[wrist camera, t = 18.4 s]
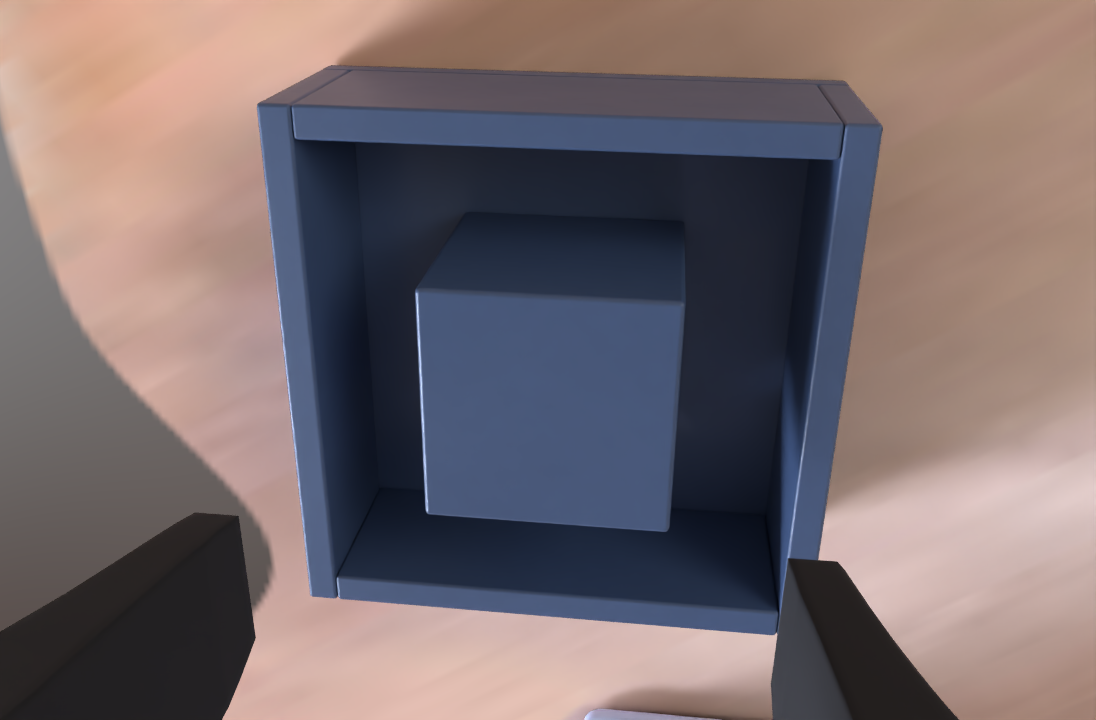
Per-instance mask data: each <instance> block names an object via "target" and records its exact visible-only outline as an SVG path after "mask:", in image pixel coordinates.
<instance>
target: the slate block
mask: <svg viewBox="0 0 1096 720" xmlns="http://www.w3.org/2000/svg"><path fill="white" fill-rule="evenodd" d="M415 302H416V323H417V344H418V365H419V385H420V406H421V427H422V448H423V469H424V489H425V509H426V512H427V513H428V514H432V515H445V516H458V517H472V518H485V519H499V520H512V521H525V522H539V523H552V524H565V525H579V526H592V527H605V528H619V529H632V530H646V531H659V532H666V531H668V529H669V527H670V513H671V500H672V486H673V472H674V459H675V445H676V431H677V418H678V404H679V390H680V377H681V363H682V349H683V336H684V322H685V309H686V295H685V239H684V224H683V222H680V221H662V220H640V219H618V218H595V217H573V216H550V215H528V214H505V213H483V212H466V213H465V214H464V215H463V217H462V218H461V220H460V222H459V223H458V225H457V226H456V228H455V229H454V231H453V232H452V234H451V235H450V237H449V239H448V240H447V242H446V243H445V245H444V246H443V248H442V249H441V251H440V252H439V254H438V256H437V257H436V259H435V260H434V262H433V263H432V265H431V266H430V268H429V269H428V271H427V272H426V274H425V276H424V277H423V279H422V280H421V282H420V283H419V285H418V286H417V288H416V290H415Z"/></svg>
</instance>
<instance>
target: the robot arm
mask: <svg viewBox="0 0 1096 720" xmlns="http://www.w3.org/2000/svg"><path fill="white" fill-rule="evenodd" d="M255 638H256V637H255V630H254V623H253V616H252V609H251V603H250V594H249V587H248V580H247V573H246V566H245V559H244V552H243V545H242V538H241V531H240V523H239V516H232V515H219V514H206V513H193V514H192V515H190V516H188V517H186V518H184V519H183V520H181V521H179V522H177V523H176V524H174V525H173V526H171V527H169V528H168V529H166V530H164V531H163V532H161V533H160V534H158V535H157V536H155V537H153V538H152V539H150V540H149V541H147V542H146V543H144V544H142V545H141V546H139V547H138V548H136V549H135V550H133V551H132V552H130V553H129V554H127V555H125V556H124V557H122V558H121V559H119V560H118V561H116V562H115V563H113V564H112V565H110V566H108V567H107V568H105V569H104V570H102V571H100V572H99V573H97V574H96V575H94V576H92V577H91V578H89V579H88V580H86V581H85V582H83V583H82V584H80V585H78V586H77V587H75V588H74V589H72V590H70V591H69V592H67V593H66V594H64V595H62V596H61V597H59V598H57V599H55V600H54V601H52V602H50V603H49V604H47V605H45V606H43V607H42V608H40V609H38V610H37V611H35V612H33V613H31V614H30V615H28V616H27V617H25V618H23V619H21V620H19V621H18V622H16V623H15V624H13V625H11V626H9V627H8V628H6V629H4V630H2V631H1V632H0V720H222V718H223V716H224V714H225V713H226V711H227V709H228V707H229V705H230V702H231V700H232V698H233V695H234V693H235V690H236V688H237V685H238V683H239V681H240V678H241V676H242V673H243V670H244V668H245V665H246V662H247V660H248V657H249V654H250V652H251V649H252V646H253V644H254V641H255ZM771 691H772V710H773V720H959V719H958V718H957V717H956V716H955V715H954V714H953V713H952V711H951V710H950V709H949V708H948V707H947V706H946V705H945V704H944V702H943V701H942V700H941V699H940V698H939V696H938V695H937V694H936V693H935V692H934V690H933V689H932V688H931V687H930V686H929V684H928V683H927V682H926V681H925V679H924V678H923V677H922V676H921V674H920V673H919V672H918V671H917V669H916V668H915V667H914V666H913V664H912V663H911V662H910V660H909V659H908V658H907V657H906V655H905V654H904V653H903V652H902V650H901V649H900V648H899V646H898V645H897V644H896V642H895V641H894V640H893V638H892V637H891V636H890V634H889V633H888V632H887V630H886V629H885V628H884V626H883V625H882V623H881V622H880V621H879V619H878V618H877V616H876V615H875V614H874V612H873V611H872V609H871V608H870V607H869V605H868V604H867V602H866V601H865V599H864V598H863V596H862V595H861V593H860V592H859V591H858V589H857V588H856V586H855V585H854V583H853V582H852V580H851V579H850V577H849V576H848V574H847V573H846V571H845V570H844V569H843V568H842V566H841V565H840V564H839V563H838V562H834V561H821V560H808V559H795V558H788V561H787V569H786V576H785V584H784V591H783V599H782V606H781V614H780V621H779V628H778V636H777V643H776V651H775V658H774V666H773V673H772V681H771ZM584 720H720V719H709V718H698V717H687V716H677V715H666V714H655V713H644V712H634V711H623V710H612V709H595V710H593V711H590V712H589V713H588V714H587V715H586V716H585V719H584Z"/></svg>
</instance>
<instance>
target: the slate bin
mask: <svg viewBox="0 0 1096 720" xmlns="http://www.w3.org/2000/svg"><path fill="white" fill-rule="evenodd" d="M257 112H258V121H259V130H260V139H261V148H262V157H263V167H264V176H265V185H266V194H267V203H268V212H269V221H270V231H271V240H272V249H273V258H274V267H275V276H276V285H277V294H278V304H279V313H280V322H281V331H282V340H283V349H284V358H285V367H286V377H287V386H288V395H289V404H290V413H291V422H292V431H293V441H294V450H295V459H296V468H297V477H298V486H299V495H300V504H301V514H302V523H303V532H304V541H305V550H306V559H307V568H308V578H309V587H310V595H311V596H313V597H324V598H337V596H338V597H339V598H340V599H348V600H360V601H372V602H384V603H396V604H408V605H420V606H431V607H443V608H455V609H467V610H479V611H491V612H503V613H515V614H527V615H539V616H550V617H562V618H574V619H586V620H598V621H610V622H622V623H634V624H646V625H658V626H669V627H681V628H693V629H705V630H717V631H729V632H741V633H753V634H765V635H775V633H776V632H777V634H778V628H779V621H780V614H781V606H782V599H783V591H784V584H785V576H786V569H787V561H788V558H795V559H808V560H818V558H819V551H820V544H821V538H822V531H823V524H824V518H825V511H826V504H827V498H828V491H829V484H830V478H831V471H832V464H833V458H834V451H835V444H836V438H837V431H838V424H839V418H840V411H841V404H842V398H843V391H844V384H845V377H846V371H847V364H848V357H849V351H850V344H851V337H852V331H853V324H854V317H855V311H856V304H857V297H858V291H859V284H860V277H861V271H862V264H863V257H864V251H865V244H866V237H867V231H868V224H869V217H870V211H871V204H872V197H873V191H874V184H875V177H876V171H877V164H878V157H879V151H880V144H881V137H882V131H883V127H882V125H881V123H880V122H879V121H878V120H877V119H876V118H875V116H874V115H873V114H872V113H871V112H870V110H869V109H868V108H867V107H866V106H865V105H864V103H863V102H862V101H861V100H860V99H859V97H858V96H857V95H856V94H855V93H854V92H853V90H852V89H851V88H850V87H849V85H848V84H847V83H846V82H845V81H833V80H800V79H767V78H734V77H701V76H668V75H635V74H602V73H569V72H536V71H503V70H470V69H437V68H404V67H371V66H338V65H331V66H328V67H326V68H324V69H323V70H321V71H319V72H317V73H315V74H314V75H312V76H310V77H308V78H306V79H304V80H302V81H300V82H298V83H296V84H294V85H292V86H291V87H289V88H287V89H285V90H283V91H281V92H279V93H277V94H275V95H273V96H271V97H270V98H268V99H266V100H264V101H262V102H260V103H258V105H257ZM466 212H483V213H505V214H528V215H550V216H573V217H595V218H618V219H640V220H662V221H680V222H683V224H684V239H685V295H686V309H685V322H684V336H683V349H682V363H681V377H680V390H679V404H678V418H677V431H676V445H675V459H674V472H673V486H672V500H671V513H670V527H669V529H668V531H666V532H659V531H646V530H632V529H619V528H605V527H592V526H579V525H565V524H552V523H539V522H525V521H512V520H499V519H485V518H472V517H458V516H445V515H432V514H428V513H427V512H426V509H425V489H424V469H423V448H422V427H421V406H420V385H419V365H418V344H417V323H416V302H415V290H416V288H417V286H418V285H419V283H420V282H421V280H422V279H423V277H424V276H425V274H426V272H427V271H428V269H429V268H430V266H431V265H432V263H433V262H434V260H435V259H436V257H437V256H438V254H439V252H440V251H441V249H442V248H443V246H444V245H445V243H446V242H447V240H448V239H449V237H450V235H451V234H452V232H453V231H454V229H455V228H456V226H457V225H458V223H459V222H460V220H461V218H462V217H463V215H464V214H465V213H466Z"/></svg>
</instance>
